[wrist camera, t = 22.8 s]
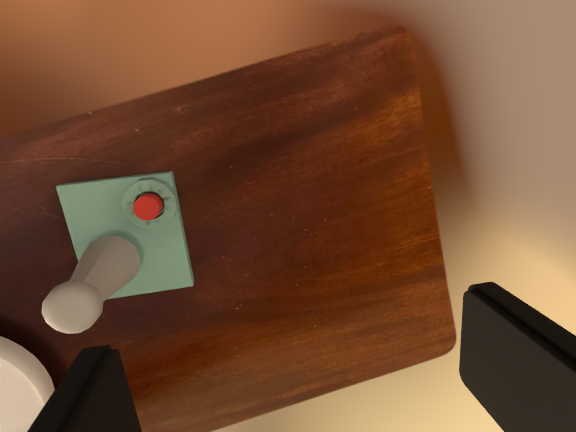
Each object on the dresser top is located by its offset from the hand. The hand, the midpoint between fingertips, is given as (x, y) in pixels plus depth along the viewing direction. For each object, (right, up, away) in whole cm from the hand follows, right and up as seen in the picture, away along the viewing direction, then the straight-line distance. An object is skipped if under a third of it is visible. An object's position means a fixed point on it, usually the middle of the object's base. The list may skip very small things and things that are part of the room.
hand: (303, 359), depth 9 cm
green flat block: (-19, +2, +32) cm, 37 cm away
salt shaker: (-20, 0, +31) cm, 37 cm away
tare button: (-15, +5, +28) cm, 33 cm away
